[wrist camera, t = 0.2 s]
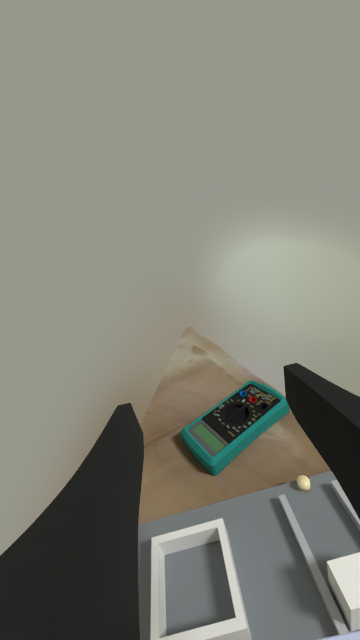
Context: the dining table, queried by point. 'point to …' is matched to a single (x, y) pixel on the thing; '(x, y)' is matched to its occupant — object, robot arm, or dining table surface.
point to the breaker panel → (248, 566)
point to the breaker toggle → (346, 586)
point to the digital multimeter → (233, 425)
